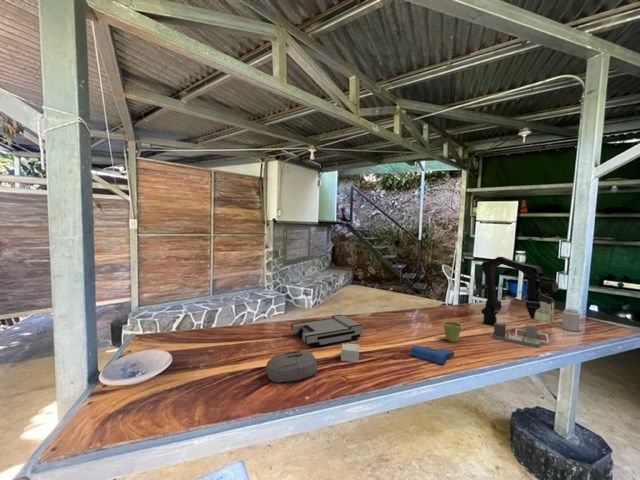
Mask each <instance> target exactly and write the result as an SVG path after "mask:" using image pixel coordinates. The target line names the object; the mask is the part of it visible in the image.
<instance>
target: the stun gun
mask: <svg viewBox="0 0 640 480" xmlns="http://www.w3.org/2000/svg"><path fill="white" fill-rule="evenodd" d="M410 356H412V357H414V358H419V359H422V360H424V361H425V360H426V361H429V362H432V363H434V364H435V363H436V364H439V365H442V366H445V365H446V364H447V360H450V359H452V358H454V357H455V351H454V350H449V349H446V348H440V349H434V348H430V347H428V346H423V345H412V346H411V348H410Z"/></svg>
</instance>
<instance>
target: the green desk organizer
mask: <svg viewBox="0 0 640 480" xmlns="http://www.w3.org/2000/svg"><path fill="white" fill-rule="evenodd" d="M539 302H540V308H539V309H537V310H536V312H535V315H534V318H533V319H534V320H536V321H539V322H542V323H554V322H555V320H554V318H555V317H554V316H555V302H556V301H555V300H554V299H553V300H552V302H551V304H547V303H545V302H543V301H541V300H540V301H539Z"/></svg>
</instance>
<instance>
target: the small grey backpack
mask: <svg viewBox="0 0 640 480" xmlns="http://www.w3.org/2000/svg"><path fill="white" fill-rule="evenodd" d="M318 368H319V367H318V362H317V360H316V356H314V354H313V353H312V352H311V351H310V350H293V351H289V350H288V351H285V352H280V353H278V354H276V355H273V356H272V357H271V358H270V359H269V360H268V361H267V363H266V365H265V372H266V374H267V378H268V379H269V380H270V381H271V382H275V383H283V382H284V383H290V382H296V381H297V382H298V381H300V380H304V379H308V378H310V377H312V376H315V375H316V374H317V373H318Z"/></svg>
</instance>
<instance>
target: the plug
mask: <svg viewBox="0 0 640 480" xmlns="http://www.w3.org/2000/svg"><path fill="white" fill-rule="evenodd" d="M525 330H526V332H525V337H528V338H533V339H538V334H537V332H538V325H535V324H530V323H526V324H525Z"/></svg>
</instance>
